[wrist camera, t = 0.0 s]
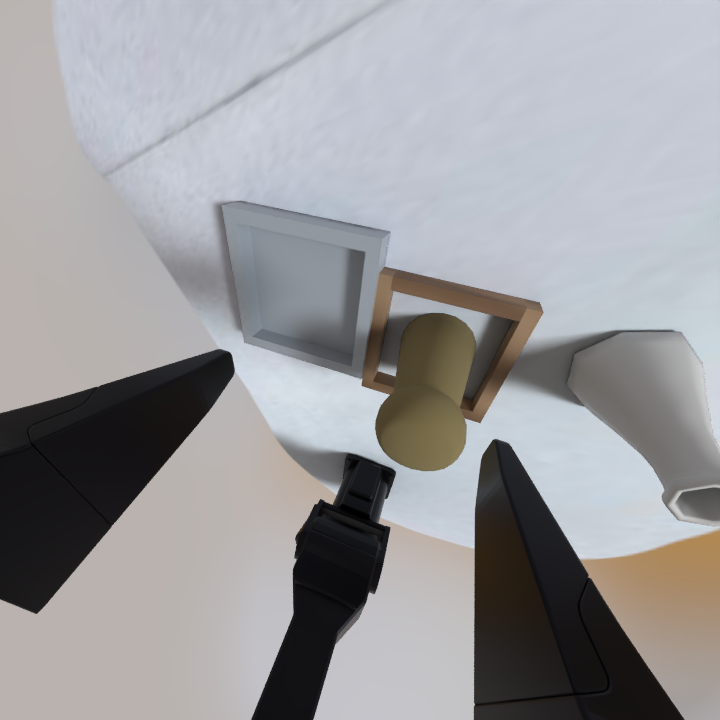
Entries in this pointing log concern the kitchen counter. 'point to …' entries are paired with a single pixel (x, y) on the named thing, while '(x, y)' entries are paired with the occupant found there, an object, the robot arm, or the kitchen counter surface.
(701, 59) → the kitchen counter surface
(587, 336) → the kitchen counter surface
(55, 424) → the robot arm
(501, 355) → the wooden picture frame
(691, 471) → the flask
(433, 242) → the kitchen counter surface
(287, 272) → the tray
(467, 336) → the cork
